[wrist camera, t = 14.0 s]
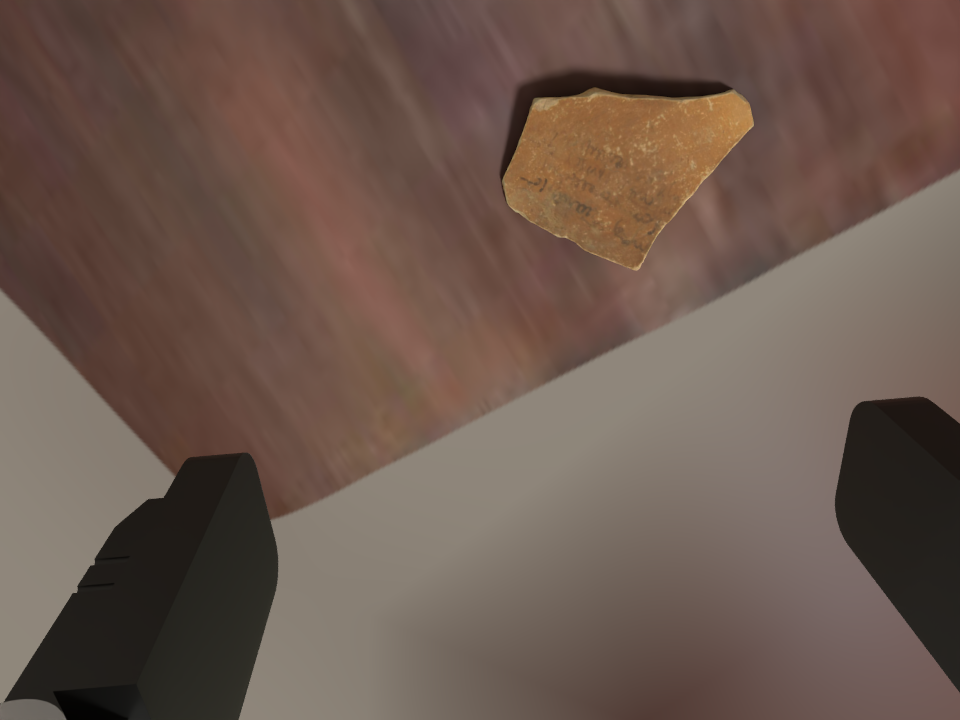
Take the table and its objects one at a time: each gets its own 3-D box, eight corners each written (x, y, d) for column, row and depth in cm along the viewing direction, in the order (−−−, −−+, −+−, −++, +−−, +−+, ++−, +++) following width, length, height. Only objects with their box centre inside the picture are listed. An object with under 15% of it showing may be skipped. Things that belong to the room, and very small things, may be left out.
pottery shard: (754, 99, 34) (776, 105, 32) (672, 272, 38) (687, 288, 36) (556, 22, 32) (565, 22, 30) (490, 212, 36) (493, 225, 34)
